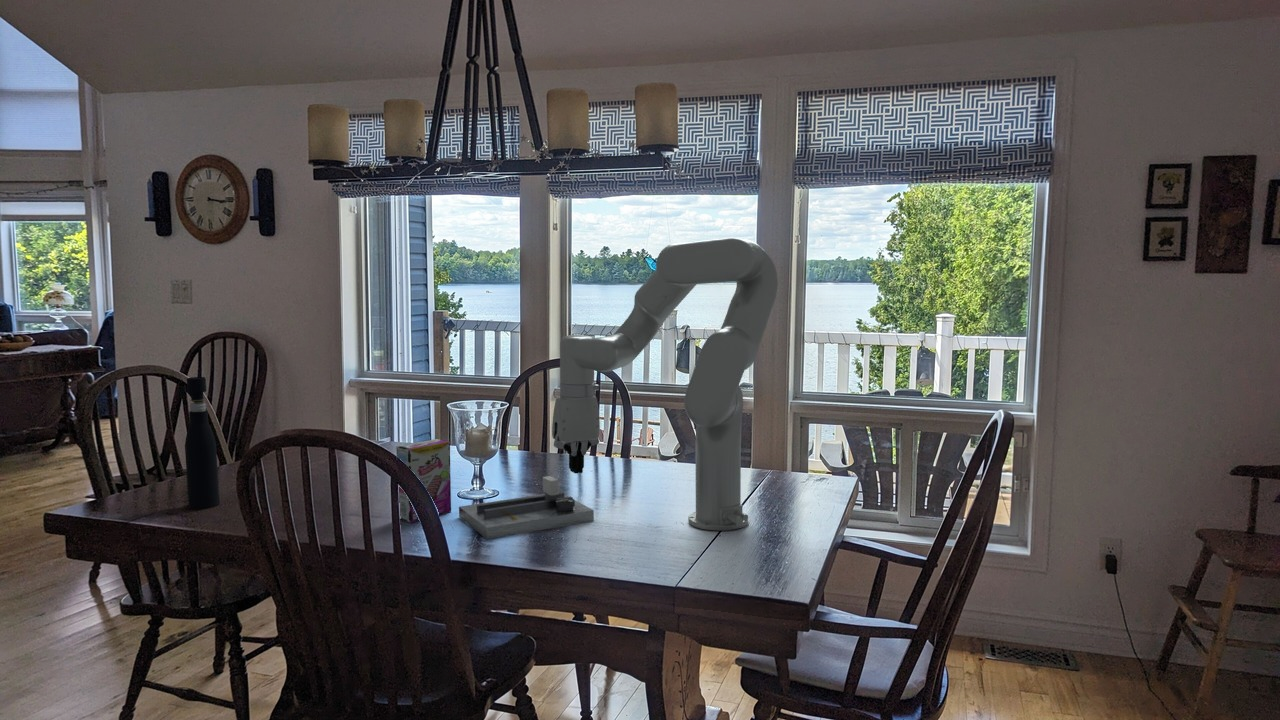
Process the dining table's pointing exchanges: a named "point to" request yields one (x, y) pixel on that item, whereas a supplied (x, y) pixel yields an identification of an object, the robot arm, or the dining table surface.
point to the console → (524, 515)
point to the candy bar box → (427, 474)
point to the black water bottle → (200, 451)
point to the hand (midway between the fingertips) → (576, 471)
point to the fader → (550, 487)
